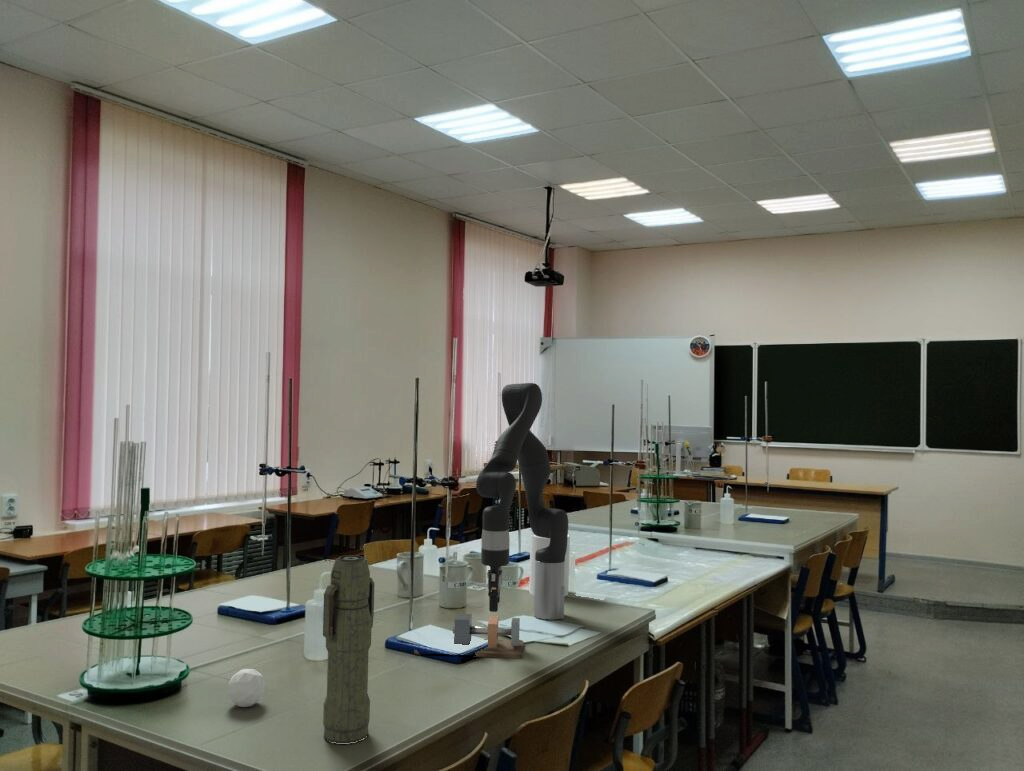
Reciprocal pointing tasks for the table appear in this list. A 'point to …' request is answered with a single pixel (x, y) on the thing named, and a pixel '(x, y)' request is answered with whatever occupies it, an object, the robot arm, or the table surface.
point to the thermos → (348, 649)
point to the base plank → (499, 650)
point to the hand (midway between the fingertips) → (494, 606)
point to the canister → (535, 545)
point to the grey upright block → (462, 629)
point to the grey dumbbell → (501, 631)
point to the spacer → (492, 631)
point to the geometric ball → (246, 687)
